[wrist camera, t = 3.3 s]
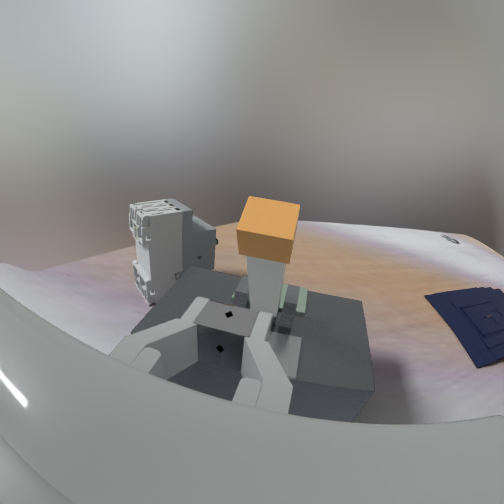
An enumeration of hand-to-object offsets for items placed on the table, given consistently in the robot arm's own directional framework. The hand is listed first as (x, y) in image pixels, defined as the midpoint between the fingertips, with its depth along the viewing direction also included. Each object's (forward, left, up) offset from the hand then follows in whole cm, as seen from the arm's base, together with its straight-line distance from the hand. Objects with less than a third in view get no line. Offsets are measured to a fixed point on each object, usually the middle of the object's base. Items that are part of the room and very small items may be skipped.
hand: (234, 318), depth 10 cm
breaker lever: (0, +14, -10) cm, 17 cm away
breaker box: (0, +13, -20) cm, 24 cm away
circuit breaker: (-18, +29, -21) cm, 40 cm away
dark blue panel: (+50, +35, -21) cm, 65 cm away
